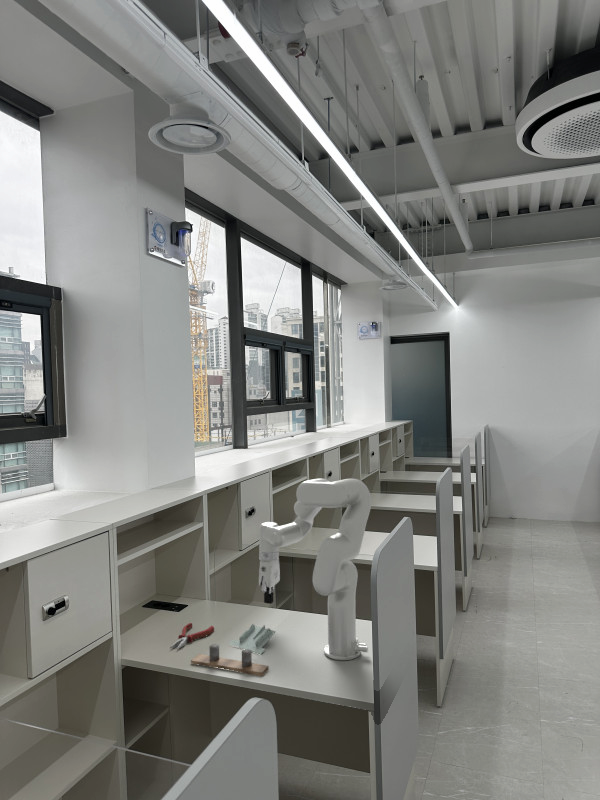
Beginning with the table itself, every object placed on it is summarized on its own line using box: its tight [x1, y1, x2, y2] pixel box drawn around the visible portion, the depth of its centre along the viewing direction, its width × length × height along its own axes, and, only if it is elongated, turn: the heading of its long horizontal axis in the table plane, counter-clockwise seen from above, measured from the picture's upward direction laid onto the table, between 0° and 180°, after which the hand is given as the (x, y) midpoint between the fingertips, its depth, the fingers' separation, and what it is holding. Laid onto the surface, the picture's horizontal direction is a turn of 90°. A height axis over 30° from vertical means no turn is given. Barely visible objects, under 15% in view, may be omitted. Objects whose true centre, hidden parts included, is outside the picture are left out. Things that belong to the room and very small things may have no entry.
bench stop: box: [190, 643, 270, 677], centre depth 183 cm, size 26×5×6 cm, turn 69°
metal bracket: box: [227, 623, 277, 655], centre depth 200 cm, size 14×6×15 cm
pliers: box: [169, 622, 215, 650], centre depth 205 cm, size 12×20×3 cm, turn 160°
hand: (268, 602), depth 214 cm, fingers closed
